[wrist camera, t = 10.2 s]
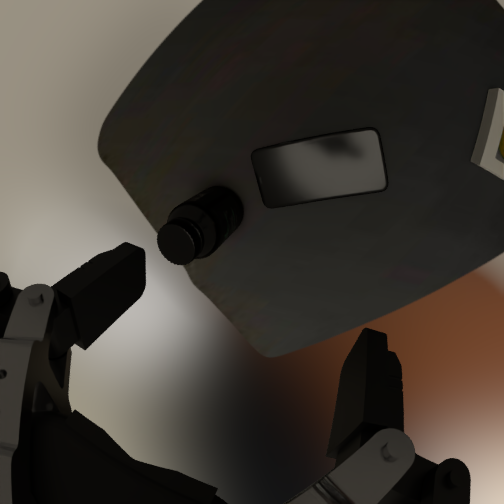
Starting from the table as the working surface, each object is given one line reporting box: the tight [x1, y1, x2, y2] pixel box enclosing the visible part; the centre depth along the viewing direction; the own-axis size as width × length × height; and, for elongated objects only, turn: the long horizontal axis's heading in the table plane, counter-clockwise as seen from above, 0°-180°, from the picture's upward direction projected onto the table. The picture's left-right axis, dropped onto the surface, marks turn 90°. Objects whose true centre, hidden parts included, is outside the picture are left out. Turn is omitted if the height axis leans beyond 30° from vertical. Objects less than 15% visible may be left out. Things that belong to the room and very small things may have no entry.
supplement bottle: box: [157, 186, 243, 265], centre depth 35 cm, size 7×7×12 cm
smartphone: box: [251, 127, 388, 208], centre depth 34 cm, size 8×1×16 cm
